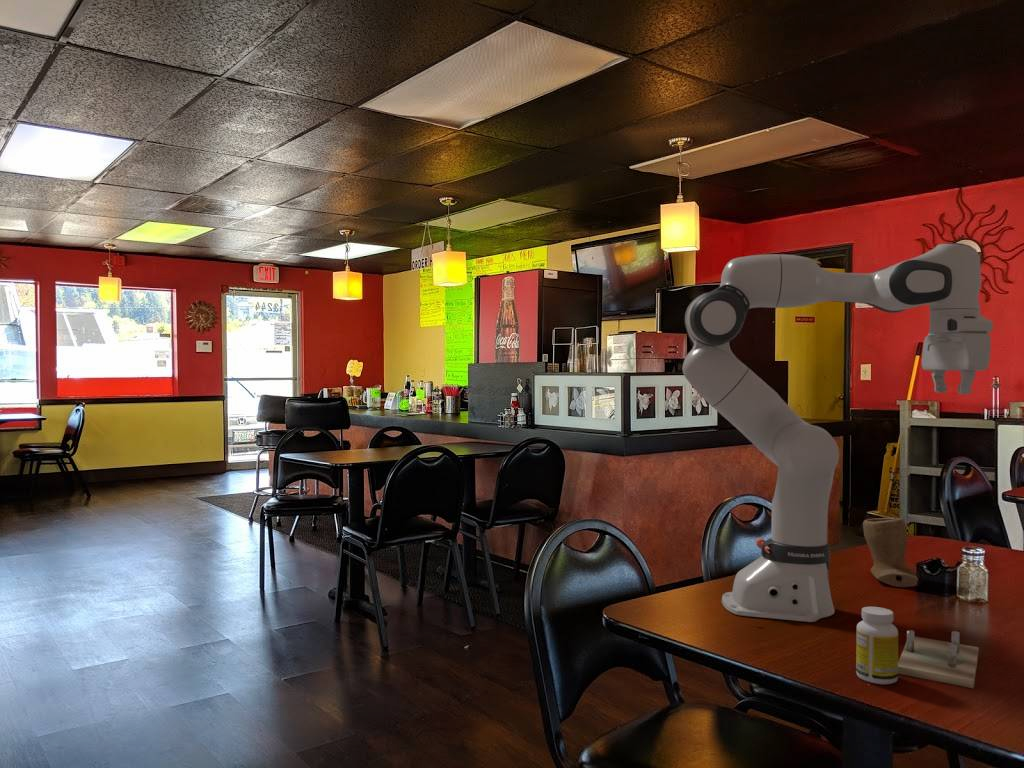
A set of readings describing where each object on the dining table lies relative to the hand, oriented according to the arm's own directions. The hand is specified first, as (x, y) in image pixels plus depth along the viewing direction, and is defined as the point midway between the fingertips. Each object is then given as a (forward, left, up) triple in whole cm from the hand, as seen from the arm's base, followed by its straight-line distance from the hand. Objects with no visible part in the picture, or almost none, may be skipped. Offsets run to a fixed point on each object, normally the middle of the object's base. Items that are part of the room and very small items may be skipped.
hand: (951, 393), depth 158 cm
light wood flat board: (-13, -26, -46) cm, 54 cm away
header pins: (-14, -26, -44) cm, 53 cm away
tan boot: (-1, +29, -46) cm, 54 cm away
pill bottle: (-26, -34, -46) cm, 63 cm away
